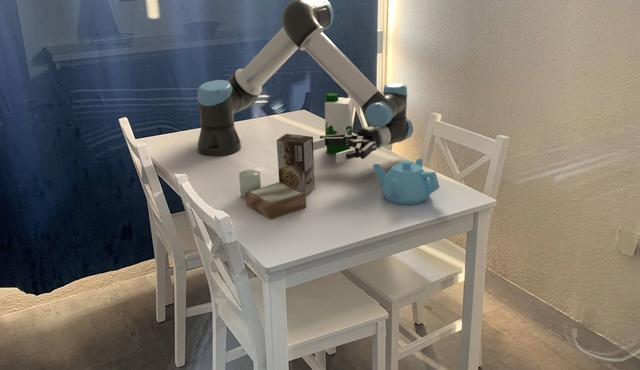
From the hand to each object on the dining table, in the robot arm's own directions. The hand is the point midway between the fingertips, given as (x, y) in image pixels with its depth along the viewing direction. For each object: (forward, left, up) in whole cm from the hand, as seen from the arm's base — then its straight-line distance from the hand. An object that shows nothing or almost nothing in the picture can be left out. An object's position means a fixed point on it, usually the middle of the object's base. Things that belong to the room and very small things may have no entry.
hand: (321, 152), depth 191 cm
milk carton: (-18, +22, -9) cm, 30 cm away
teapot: (+25, +10, -10) cm, 29 cm away
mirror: (+6, -22, -9) cm, 24 cm away
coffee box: (0, -10, -9) cm, 14 cm away
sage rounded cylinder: (-5, -23, -9) cm, 25 cm away
